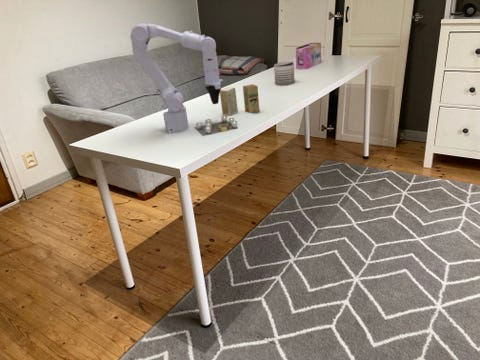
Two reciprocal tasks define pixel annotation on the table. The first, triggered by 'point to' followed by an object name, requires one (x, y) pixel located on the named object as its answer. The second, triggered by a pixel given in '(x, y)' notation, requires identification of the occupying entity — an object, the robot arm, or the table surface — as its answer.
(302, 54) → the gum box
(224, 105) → the skincare box
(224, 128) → the nut
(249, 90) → the shoe polish box
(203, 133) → the mat
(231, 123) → the spacers
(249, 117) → the table surface
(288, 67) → the can
